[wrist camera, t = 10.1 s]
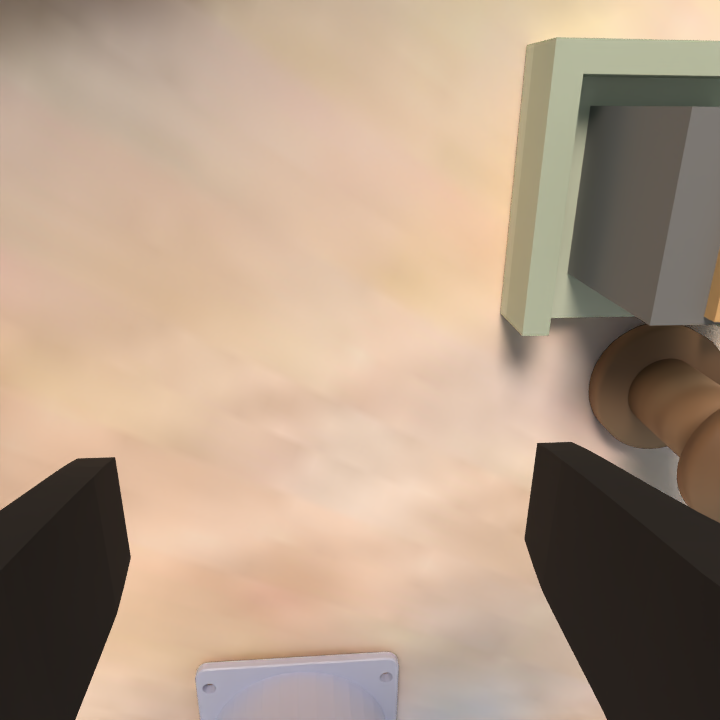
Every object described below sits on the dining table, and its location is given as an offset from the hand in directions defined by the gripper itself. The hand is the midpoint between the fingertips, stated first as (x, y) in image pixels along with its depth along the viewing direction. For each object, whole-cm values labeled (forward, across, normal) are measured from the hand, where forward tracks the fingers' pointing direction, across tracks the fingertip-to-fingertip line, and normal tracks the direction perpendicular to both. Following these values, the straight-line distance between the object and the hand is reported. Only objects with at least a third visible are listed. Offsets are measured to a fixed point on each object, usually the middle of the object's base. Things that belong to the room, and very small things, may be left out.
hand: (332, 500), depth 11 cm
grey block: (+9, -10, -4) cm, 14 cm away
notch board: (+10, -10, -4) cm, 14 cm away
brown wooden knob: (+10, -12, +2) cm, 15 cm away
